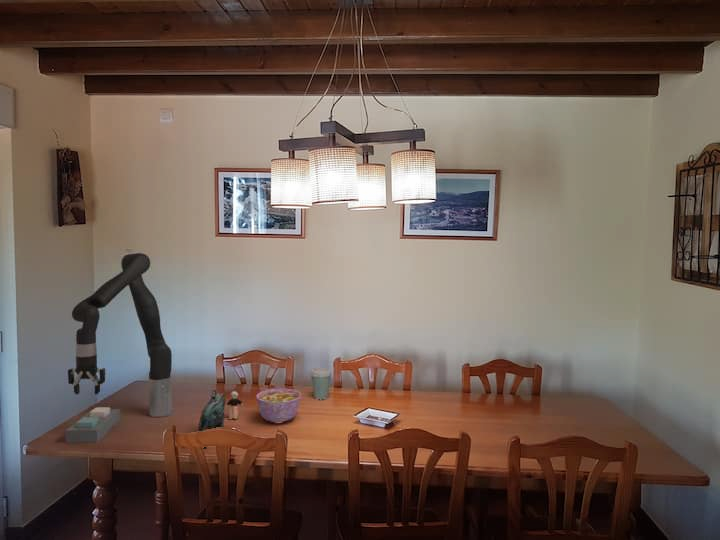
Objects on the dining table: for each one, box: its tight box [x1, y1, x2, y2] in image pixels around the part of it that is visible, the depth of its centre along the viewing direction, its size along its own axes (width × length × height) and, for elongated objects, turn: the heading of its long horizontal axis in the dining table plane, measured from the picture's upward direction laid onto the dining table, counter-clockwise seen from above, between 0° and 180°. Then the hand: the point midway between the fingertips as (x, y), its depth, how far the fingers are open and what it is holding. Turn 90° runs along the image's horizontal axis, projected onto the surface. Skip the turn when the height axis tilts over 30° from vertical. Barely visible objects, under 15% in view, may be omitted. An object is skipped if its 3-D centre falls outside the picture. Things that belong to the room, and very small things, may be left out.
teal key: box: [76, 416, 99, 428], centre depth 213 cm, size 6×6×3 cm
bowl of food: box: [255, 388, 302, 423], centre depth 235 cm, size 20×20×12 cm
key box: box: [65, 408, 121, 444], centre depth 219 cm, size 12×24×5 cm, turn 4°
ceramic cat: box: [198, 389, 226, 432], centre depth 212 cm, size 20×6×20 cm, turn 174°
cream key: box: [89, 406, 111, 417], centre depth 224 cm, size 6×6×3 cm
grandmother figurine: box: [225, 391, 244, 420], centre depth 236 cm, size 8×4×13 cm, turn 118°
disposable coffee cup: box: [310, 367, 332, 399], centre depth 267 cm, size 11×11×15 cm
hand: (87, 393), depth 212 cm, fingers open, 7 cm apart
